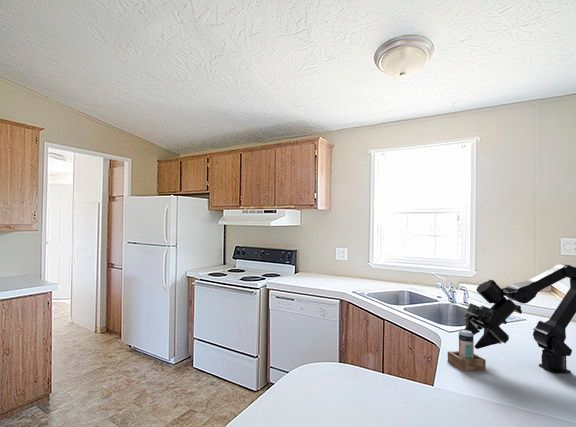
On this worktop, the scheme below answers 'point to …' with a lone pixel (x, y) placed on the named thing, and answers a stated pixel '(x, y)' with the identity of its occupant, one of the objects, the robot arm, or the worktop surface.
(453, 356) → the socket block
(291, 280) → the worktop surface
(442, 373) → the worktop surface
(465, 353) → the beer can
